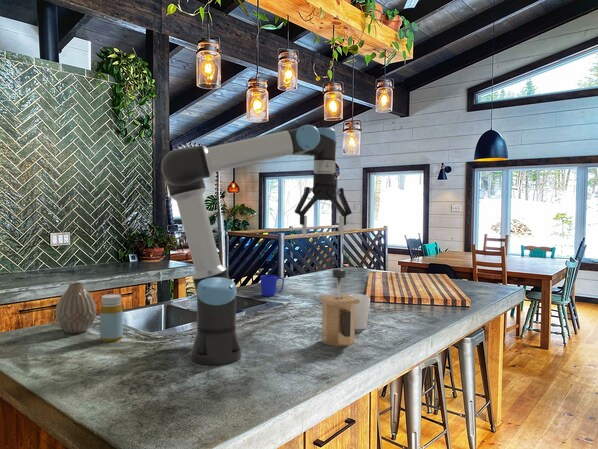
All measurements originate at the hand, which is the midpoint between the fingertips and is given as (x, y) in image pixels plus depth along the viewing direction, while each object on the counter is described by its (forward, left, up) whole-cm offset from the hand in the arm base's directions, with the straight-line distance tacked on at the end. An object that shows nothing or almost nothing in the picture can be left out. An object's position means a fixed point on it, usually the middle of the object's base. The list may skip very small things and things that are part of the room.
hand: (322, 234), depth 155 cm
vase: (-83, +31, -37) cm, 96 cm away
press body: (+4, -7, -36) cm, 37 cm away
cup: (+18, +8, -37) cm, 42 cm away
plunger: (+4, -6, -32) cm, 33 cm away
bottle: (-70, +17, -37) cm, 81 cm away
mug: (+1, +73, -37) cm, 82 cm away
